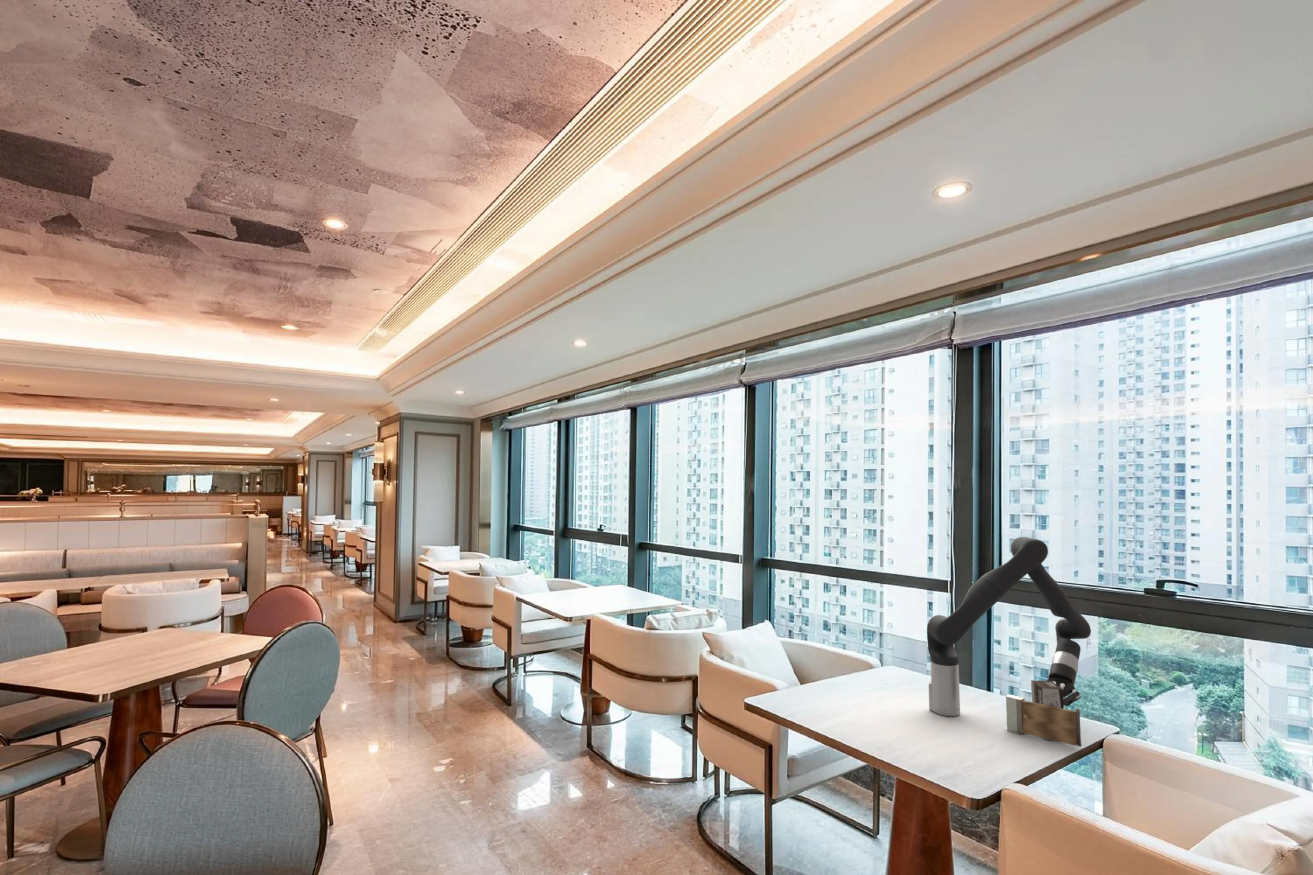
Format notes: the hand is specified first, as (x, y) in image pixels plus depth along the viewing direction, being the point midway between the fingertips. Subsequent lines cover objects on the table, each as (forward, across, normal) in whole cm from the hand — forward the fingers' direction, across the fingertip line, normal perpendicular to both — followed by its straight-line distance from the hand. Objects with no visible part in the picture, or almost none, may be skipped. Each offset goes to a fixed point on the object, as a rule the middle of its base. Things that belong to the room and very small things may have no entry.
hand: (1053, 713), depth 209 cm
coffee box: (+8, 0, 0) cm, 8 cm away
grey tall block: (+11, -8, -4) cm, 14 cm away
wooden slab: (+11, +3, -6) cm, 13 cm away
